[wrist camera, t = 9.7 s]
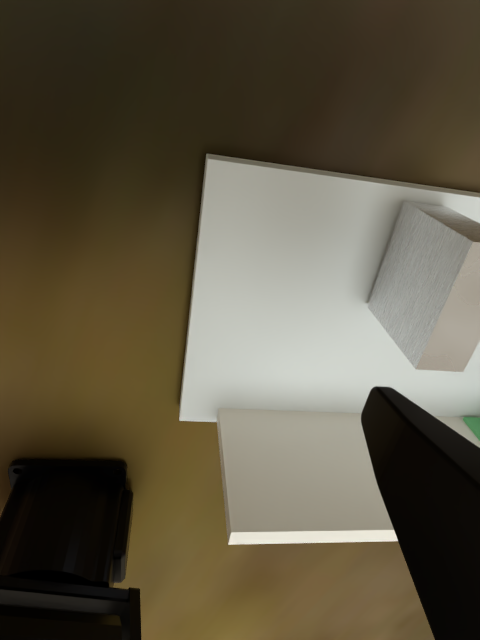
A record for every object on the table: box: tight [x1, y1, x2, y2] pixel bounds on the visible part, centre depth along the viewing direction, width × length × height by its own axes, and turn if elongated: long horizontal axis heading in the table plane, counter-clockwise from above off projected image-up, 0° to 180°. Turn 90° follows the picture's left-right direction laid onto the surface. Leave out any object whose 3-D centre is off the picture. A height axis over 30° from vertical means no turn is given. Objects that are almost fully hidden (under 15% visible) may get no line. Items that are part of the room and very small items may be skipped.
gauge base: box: [179, 154, 480, 545], centre depth 19 cm, size 26×13×8 cm, turn 81°
